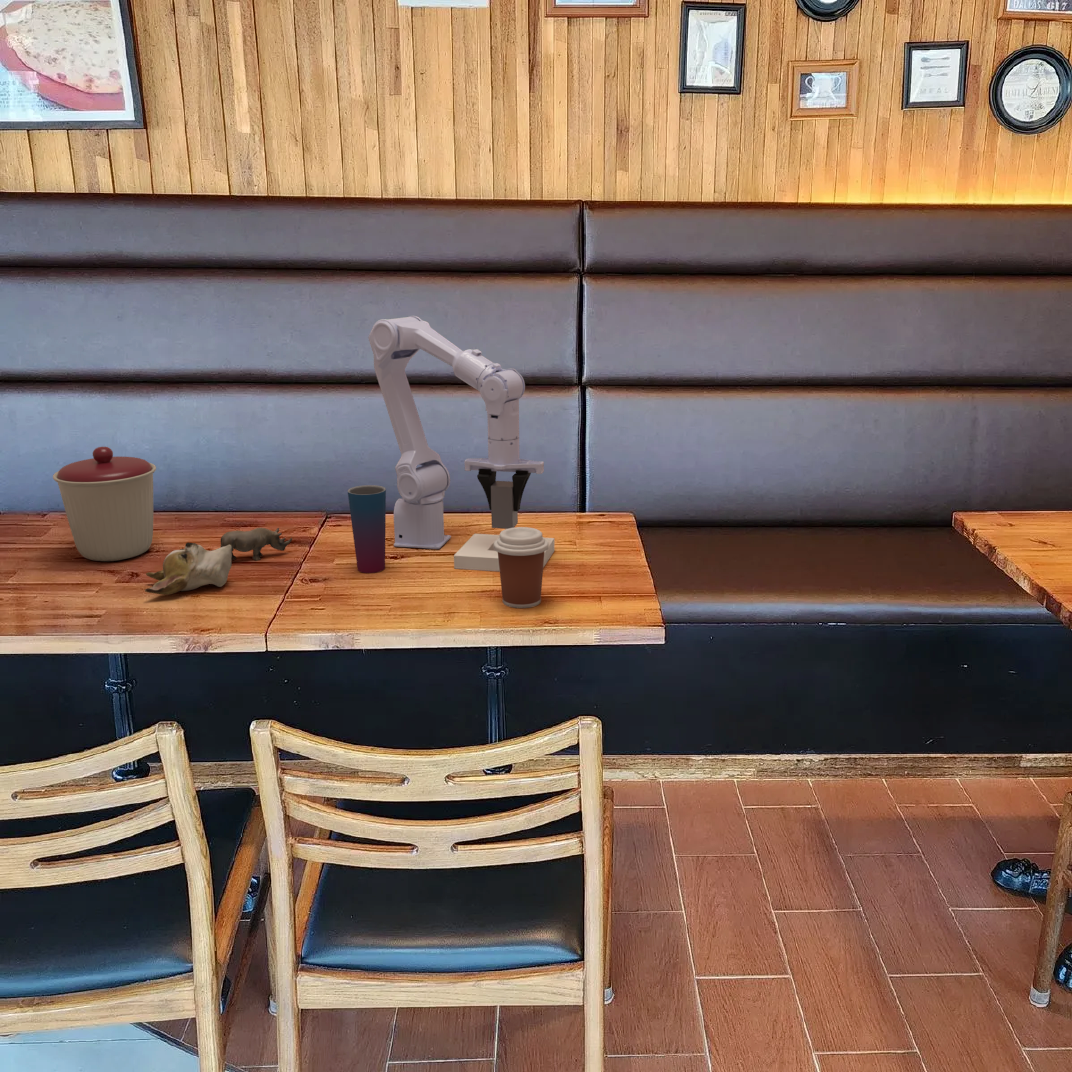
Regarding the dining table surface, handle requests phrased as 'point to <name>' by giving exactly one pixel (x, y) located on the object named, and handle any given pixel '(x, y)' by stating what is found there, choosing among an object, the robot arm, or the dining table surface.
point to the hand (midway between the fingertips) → (504, 509)
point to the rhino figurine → (254, 541)
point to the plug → (503, 505)
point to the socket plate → (486, 553)
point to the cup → (368, 526)
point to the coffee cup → (521, 565)
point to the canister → (108, 505)
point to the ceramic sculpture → (192, 569)
